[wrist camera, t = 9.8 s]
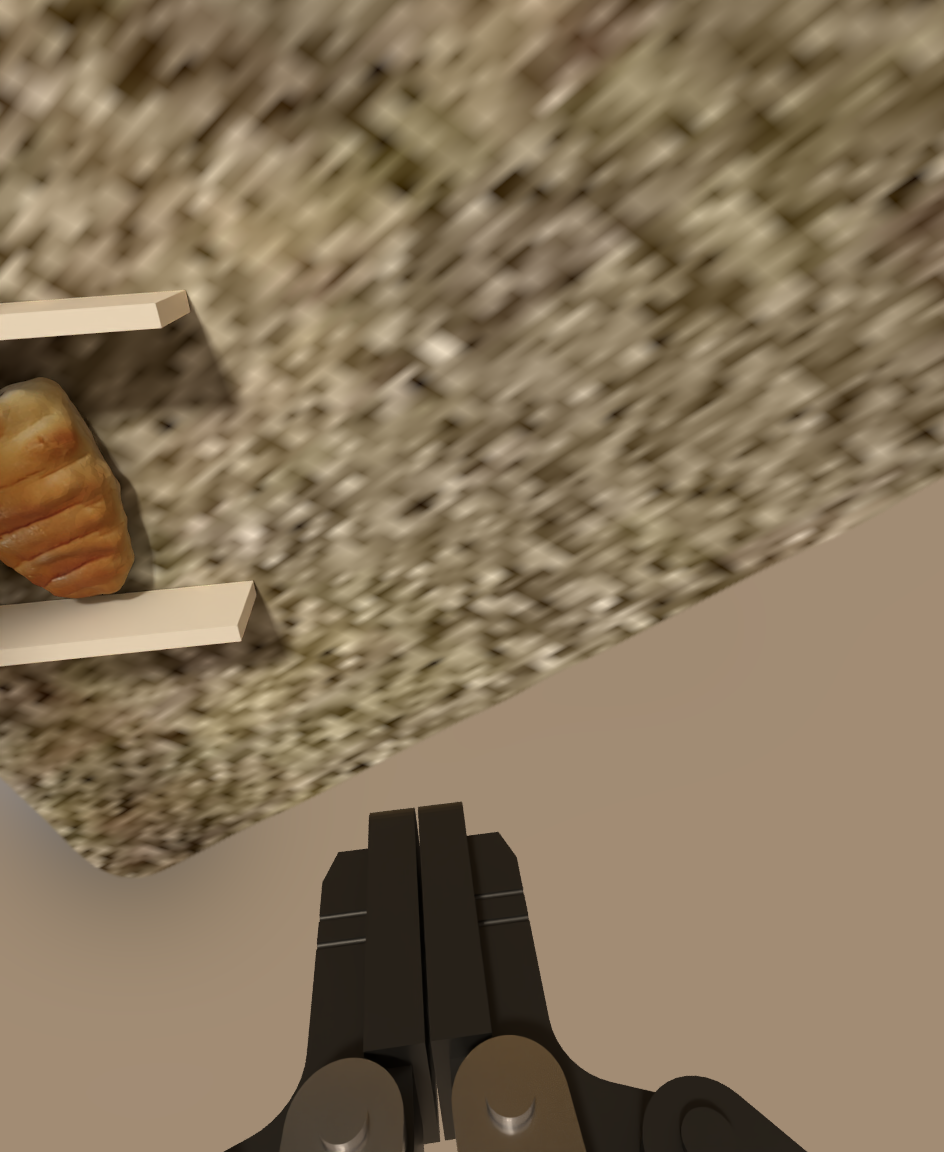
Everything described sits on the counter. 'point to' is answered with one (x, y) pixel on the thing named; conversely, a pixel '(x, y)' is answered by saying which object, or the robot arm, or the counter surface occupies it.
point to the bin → (128, 615)
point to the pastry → (58, 496)
